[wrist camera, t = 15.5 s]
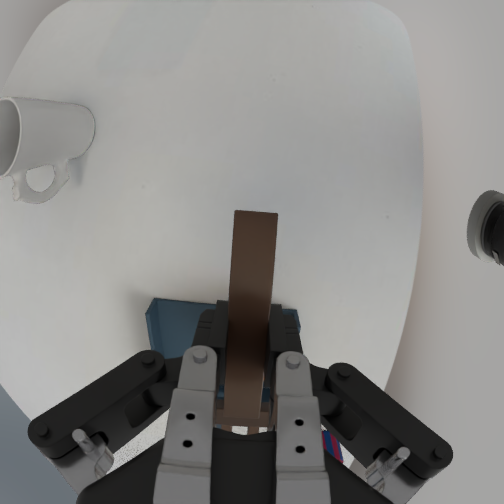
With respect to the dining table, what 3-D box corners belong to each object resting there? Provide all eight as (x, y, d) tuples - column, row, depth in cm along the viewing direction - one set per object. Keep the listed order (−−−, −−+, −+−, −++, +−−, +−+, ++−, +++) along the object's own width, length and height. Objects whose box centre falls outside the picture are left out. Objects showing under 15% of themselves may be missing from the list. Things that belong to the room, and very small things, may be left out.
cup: (334, 442, 45) (339, 468, 39) (287, 448, 45) (289, 475, 39) (340, 428, 43) (346, 456, 36) (288, 434, 43) (291, 464, 37)
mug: (51, 114, 23) (-22, 116, 11) (94, 94, 22) (20, 82, 11) (62, 193, 26) (-9, 224, 15) (105, 181, 26) (33, 208, 15)
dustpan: (153, 297, 31) (145, 313, 28) (296, 309, 32) (301, 327, 29) (173, 413, 40) (169, 428, 37) (270, 422, 41) (271, 437, 38)
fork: (203, 212, 14) (194, 207, 11) (306, 219, 14) (318, 216, 11) (199, 459, 15) (194, 482, 12) (274, 463, 15) (277, 487, 12)
